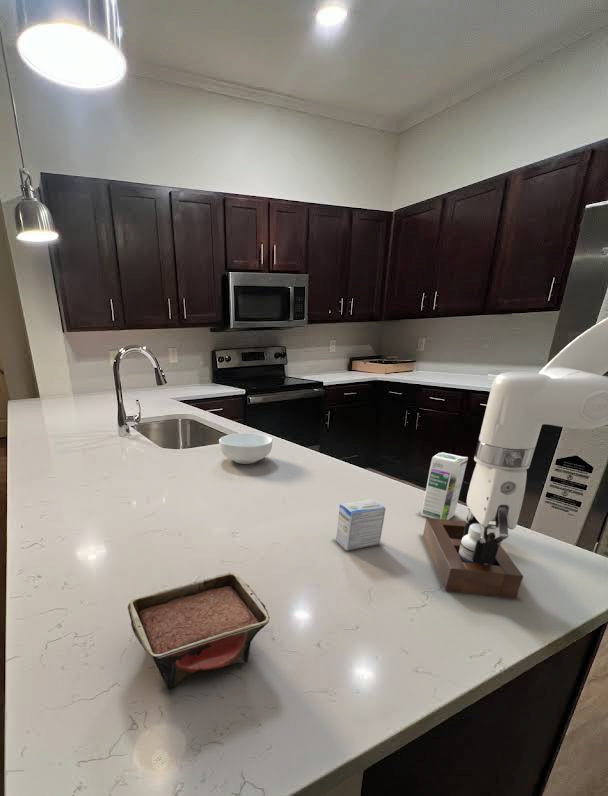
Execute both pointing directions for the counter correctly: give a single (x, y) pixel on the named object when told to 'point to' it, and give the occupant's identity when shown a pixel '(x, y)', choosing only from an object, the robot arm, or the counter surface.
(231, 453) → the cereal bowl
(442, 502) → the syrup box
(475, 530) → the pill bottle
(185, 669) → the baking dish
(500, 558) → the holder
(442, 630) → the counter surface
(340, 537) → the medicine box
